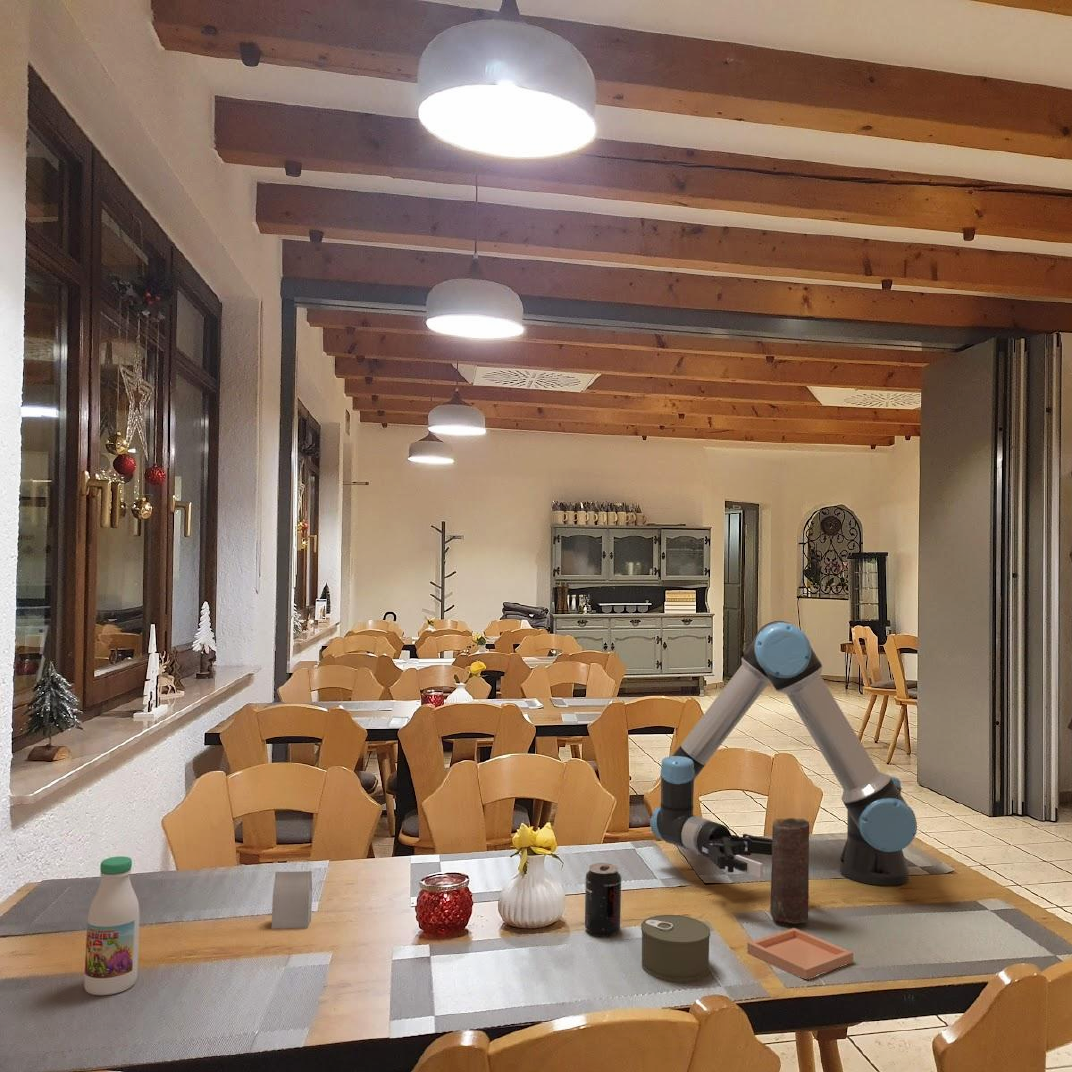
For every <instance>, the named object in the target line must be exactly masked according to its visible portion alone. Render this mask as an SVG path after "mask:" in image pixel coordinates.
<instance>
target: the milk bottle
mask: <svg viewBox="0 0 1072 1072" xmlns="http://www.w3.org/2000/svg"><path fill="white" fill-rule="evenodd" d="M132 864H133V861H132V858H131V857H129V856H119V855H118V856H113V857H108V858H104V859H103V860H102V861H101V862H100V866H99V867H100V868H99V869H100V874H99V875H100V877H101V881H100V884H99V887H98V890H97V892H96V894H95V896H94V898H93V900H92V902H91V904H90V906H89V907H90V908H89V911H88V915H87V923H86V925H87V926H86V938H85V939H86V941H85V958H84V959H85V960H84V976H83V977H84V979H83V982H84V986H83V987H84V989H85V992H87V993H88V994H90V995H94V996H107V995H108V996H109V995H114V994H115V995H116V994H119V993H121V992H124V991H126V990H129V989H130V988H132V987H133V986H134V985H135V983H136V981H137V979H138V966H139V963H138V962H139V939H140V904H139V900H138V898H137V894H136V892H135V890H134V888H133V885H132V882H131V878H130V874H131V873H132V866H133V865H132Z"/></svg>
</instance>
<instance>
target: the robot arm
mask: <svg viewBox="0 0 1072 1072" xmlns="http://www.w3.org/2000/svg"><path fill="white" fill-rule="evenodd" d="M823 668H824V667H823V664H822V663H821V661H820V659H819V657H818V656H817V654H816V652H815V651H814V649H813V648H812V645H811V643H810V640H809V638H808V636H807V635H806V634H805V632H804V631H803V630H802V629H800V628H799V627H798V626H796V625H794V624H792V623H790V622H786V621H782V620H777V621H776V620H775V621H770V622H768V623H766V624H764V625H763V626H761V628H760V629H759V630H758V631H757V633H756V634H755V636H754V639H753V640H752V643H751V644H750V645H749V647H748V648H747V650H746V651H745V653H744V655H743V656H742V657H741V665H740V666H739V668H738V669H737V671H736V672H735V673H734V674H733V676H732V677H731V678H730V680H729V681H728V682H727V683H726V685H725V686H724V688H723V689H722V690H721V692H720V693H719V694H718V695H717V697H716V698H715V699H714V701H713V702H712V704H711V705H710V706H709V707H708V708H707V710H706V711H705V712H704V714H703V715H702V716H701V718H699V720H698V721H697V723H696V724H695V725H694V727H693V728H692V729H691V731H690V732H689V733H688V734H687V735H686V737H685V739H684V740H683V741H682V742H681V744H680V746H679V747H678V748H677V749H676V750H675V752H674V753H673V754H672V755H670V756H665V757H663V759H661V760H662V761H661V765H660V806H657V807H656V808H655V809H654V811H652V816H651V818H650V820H649V825H650V830H651V832H652V834H653V835H654V836H655V837H656V838H659V839H660V840H663V841H664V842H666V843H667V844H673V845H675V846H677V847H680V848H683V849H686V850H689V851H690V852H694V853H695V855H697V856H699V855H702V856H704V857H705V858H708V859H709V860H710V861H711V862H712V864H714V865H715V866H716V867H718V869H720V870H725V869H726V867H727V873H734V872H735V871H734V870H737V871H740V872H742V873H745V874H747V875H750V876H753V877H755V878H758V879H763V878H764V877H763V876H764V875H763V874H764V873H763V872H764V870H763V869H764V863H761V862H759V861H756V860H753V859H750V858H747V857H744V856H751V855H752V854H755V855H766V856H772V838H767V837H761V836H754V835H752V834H747V833H743V834H742V836H739V835H736V834H732V833H731V831H730V830H729V828H728V827H727V826H726V825H724V824H721V823H719V822H717V821H716V822H715V821H712V820H710V819H707V818H704V817H702V816H696V815H694V798H695V797H694V794H695V793H694V792H695V780H696V778H698V775H700V773H701V772H702V770H703V769H704V768H705V766H706V764H707V763H708V762H709V761H710V760H711V758H712V757H713V756H714V755H715V754H716V752H717V750H718V749H720V747H721V745H722V744H723V743H724V742H725V740H726V739H727V738H728V736H729V735H730V734H731V732H732V731H733V730H734V729H735V727H737V725H738V723H739V722H740V721H741V720H742V718H743V717H744V716H745V715H746V713H747V712H748V711H749V709H750V708H751V707H752V705H753V704H754V703H755V701H756V700H757V699H758V698H759V696H761V694H762V693H763V691H764V690H765V689H766V688H767V686H769V685H771V684H772V686H773V688H774V689H775V691H776V692H779V693H782V694H784V695H786V696H787V698H788V699H789V701H790V702H791V704H792V706H793V708H794V709H795V711H796V712H797V714H798V716H799V718H800V720H801V721H802V723H803V724H804V726H805V727H806V730H807V732H808V733H809V735H810V736H811V738H812V739H813V741H814V743H815V744H816V746H817V748H818V749H819V751H820V752H821V754H822V756H823V759H825V762H826V763H827V765H828V766H829V767H830V769H831V771H832V773H833V775H834V776H835V777H836V780H837V781H838V783H839V785H840V786H841V788H842V789H843V792H842V796H841V801H842V803H843V805H844V806H845V809H846V810H847V821H846V823H847V833H846V834H847V835H846V836H847V837H846V841H845V844H844V847H843V849H842V852H841V855H840V858H839V862H838V863H839V865H838V866H839V867H838V869H839V871H838V872H839V873H840V872H841V873H840V874H841V875H842V874H843V875H842V876H844V877H846V878H847V879H850V880H853V881H856V882H859V883H864V884H868V885H872V886H873V885H874V886H875V885H876V886H885V887H886V886H900V885H905V884H906V883H908V882H909V881H910V880H909V876H910V875H909V867H908V864H907V861H906V858H905V855H904V852H903V850H904V849H905V848H907V847H908V846H909V845H910V844H911V843H912V842H913V841H914V839H915V837H916V835H917V830H918V823H917V818H916V817H917V816H916V814H915V812H914V810H913V809H912V808H911V806H909V805H908V803H907V802H906V801H905V799H904V797H903V796H902V794H901V792H902V785H901V780H900V779H899V778H898V777H895V776H892V775H891V776H890V775H889V774H886V773H883V772H880V771H879V770H878V768H877V766H876V765H875V763H874V761H873V760H872V758H871V756H870V755H869V754H868V752H867V750H866V749H865V746H864V745H863V743H862V742H861V740H860V739H859V737H858V735H857V734H856V732H855V730H854V729H853V727H852V725H851V724H850V722H849V720H848V719H847V717H846V715H845V714H844V712H843V710H842V708H841V707H840V705H839V704H838V702H837V700H836V699H835V697H834V695H833V694H832V693H831V691H830V689H829V688H828V686H827V684H826V683H825V681H824V680H823V678H822V672H823Z"/></svg>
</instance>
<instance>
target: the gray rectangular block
mask: <svg viewBox="0 0 1072 1072" xmlns="http://www.w3.org/2000/svg"><path fill="white" fill-rule="evenodd" d="M312 877H313V876H312V871H311V870H293V871H292V870H290V871H287V870H286V871H284V870H283V871H282V870H281V871H279V870H276V871H275V873H274V881H273V882H274V884H273V890H272V891H273V892H272V903H271V906H272V908H271V929H272V930H274V929H276V930H278V929H282V930H283V929H309V927H310V924H311V921H312V908H313V907H312V903H313V901H312V900H313V882H312Z"/></svg>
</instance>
